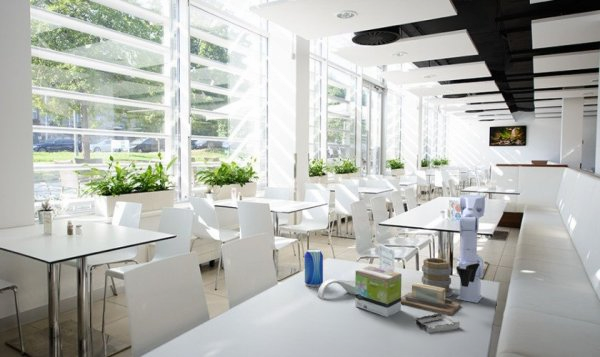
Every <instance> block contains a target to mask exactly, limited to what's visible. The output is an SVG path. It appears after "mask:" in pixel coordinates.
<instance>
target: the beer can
mask: <svg viewBox="0 0 600 357" xmlns="http://www.w3.org/2000/svg"><path fill="white" fill-rule="evenodd" d="M304 283H305V285H306V286H307V287H309V286H310V287H309V288H319V287H320V286H321V285H322V284H323V283H324V254H323V253H322V250H321V249H318V248H310V249H306V252H305V254H304ZM318 286H319V287H318Z"/></svg>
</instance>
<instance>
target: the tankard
mask: <svg viewBox="0 0 600 357" xmlns="http://www.w3.org/2000/svg"><path fill="white" fill-rule="evenodd" d="M421 271H422V273H423V274H422V277H421V283H422V284H425V285H430V286H435V287H441V288H445V298H449V297H451V296H452V295H453V293H454V292H453V291H454V290H453V289H452V288H450V285H451V284H452V278H451V277H450V275H451V273H452V267H451V261H450V260H448V259H445V258H444V253H443V252H439V253H438V257H428V258H427V257H426V258H425V259H423V264H422V266H421Z"/></svg>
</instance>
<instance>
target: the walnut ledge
mask: <svg viewBox="0 0 600 357" xmlns="http://www.w3.org/2000/svg"><path fill="white" fill-rule="evenodd" d="M401 305H403V306H408V307H410V308H412V307H413V308H416V309H421V310H425V311H430V312H434V313H436V314H437V313H442V314H443V315H447V316H452V315H453V314H454V313H455V312H456V311H457V310H458V309H460V307H461V302H458V301H457V302H456V301H453V299H450V298H447V297H445V304H442V303H437V302H433V301H428V300H423V299H419V298H414V297H412V292H408V293H406V294H405V295H403V296H401Z"/></svg>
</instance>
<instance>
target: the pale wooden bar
mask: <svg viewBox="0 0 600 357" xmlns="http://www.w3.org/2000/svg"><path fill="white" fill-rule="evenodd" d="M411 293H412V297H414V298H419V299H423V300H428V301H433V302H437V303H442V304H445V298H446V297H445V288H441V287H435V286H430V285H425V284H423V283H418V282H414V283H413V284H412V285H411Z"/></svg>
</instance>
